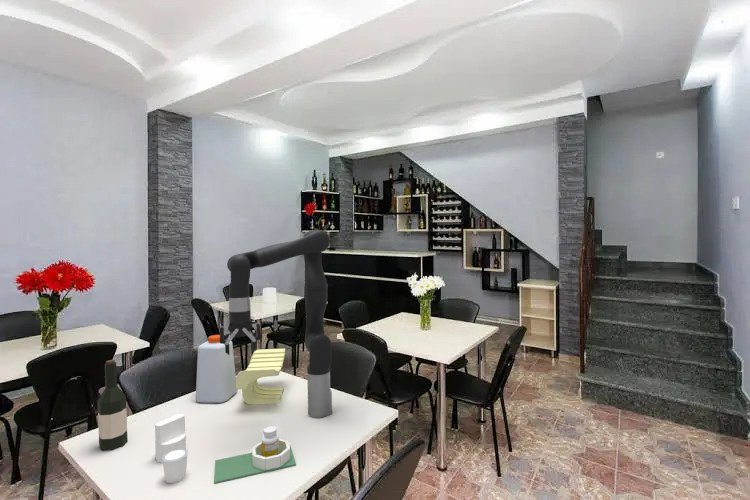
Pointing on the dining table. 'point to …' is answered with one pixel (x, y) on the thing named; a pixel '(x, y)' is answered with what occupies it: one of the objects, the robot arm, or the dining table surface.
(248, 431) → the dining table surface
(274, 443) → the supplement bottle
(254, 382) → the slatted curved stool
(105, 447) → the wine bottle
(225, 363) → the plastic bottle
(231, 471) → the green board with ring
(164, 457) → the white tapered cup
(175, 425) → the cylinder with rectangular tab
